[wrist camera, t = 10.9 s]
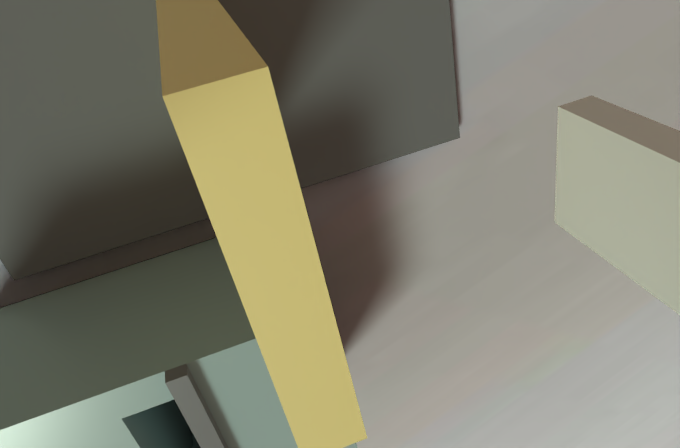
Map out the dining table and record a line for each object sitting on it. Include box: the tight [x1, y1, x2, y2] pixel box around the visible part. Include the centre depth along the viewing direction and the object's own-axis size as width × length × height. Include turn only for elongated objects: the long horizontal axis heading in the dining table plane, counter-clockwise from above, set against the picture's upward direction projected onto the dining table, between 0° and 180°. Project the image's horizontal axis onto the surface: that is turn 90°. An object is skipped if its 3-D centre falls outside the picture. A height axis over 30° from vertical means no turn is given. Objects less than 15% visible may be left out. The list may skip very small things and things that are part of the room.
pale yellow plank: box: [156, 0, 367, 448], centre depth 16 cm, size 1×8×16 cm, turn 11°
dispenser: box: [0, 238, 357, 448], centre depth 26 cm, size 14×12×9 cm
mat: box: [0, 0, 460, 280], centre depth 23 cm, size 22×13×1 cm, turn 101°
